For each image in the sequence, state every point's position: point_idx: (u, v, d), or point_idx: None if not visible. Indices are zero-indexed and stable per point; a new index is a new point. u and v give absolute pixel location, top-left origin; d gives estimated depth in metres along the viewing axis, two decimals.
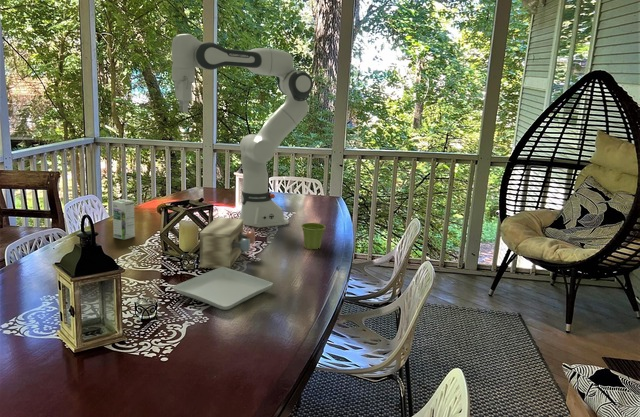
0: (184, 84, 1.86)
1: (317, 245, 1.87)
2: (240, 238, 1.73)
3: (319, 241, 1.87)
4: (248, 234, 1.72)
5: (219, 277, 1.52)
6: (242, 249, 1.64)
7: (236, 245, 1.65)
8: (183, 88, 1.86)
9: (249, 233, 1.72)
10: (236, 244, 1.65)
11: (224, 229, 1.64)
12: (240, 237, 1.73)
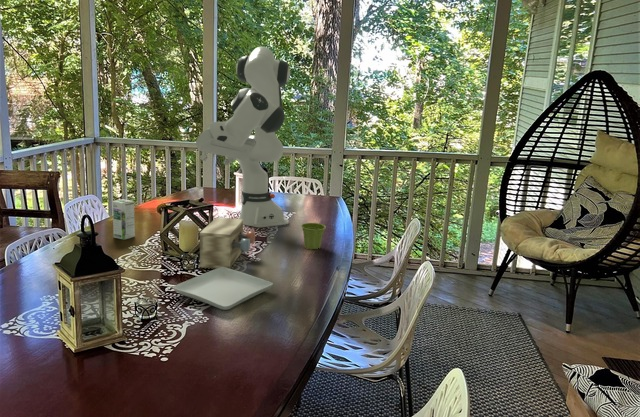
0: None
1: (317, 245, 1.87)
2: (240, 238, 1.73)
3: (319, 241, 1.87)
4: (248, 234, 1.72)
5: (219, 277, 1.52)
6: (242, 249, 1.64)
7: (236, 245, 1.65)
8: None
9: (249, 233, 1.72)
10: (236, 244, 1.65)
11: (224, 229, 1.64)
12: (240, 237, 1.73)
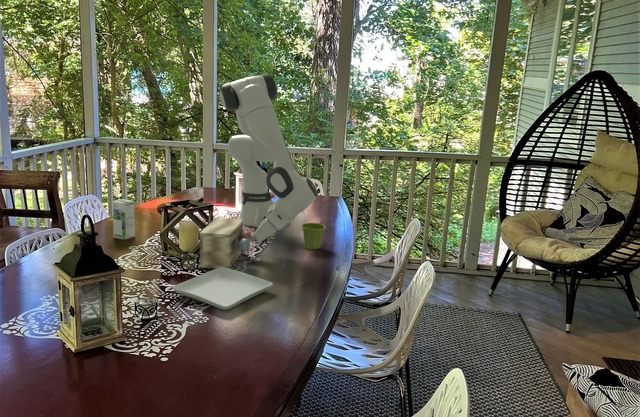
0: None
1: (317, 245, 1.87)
2: None
3: (319, 241, 1.87)
4: (244, 234, 1.72)
5: (219, 277, 1.52)
6: (242, 249, 1.64)
7: (236, 245, 1.65)
8: None
9: (245, 233, 1.73)
10: (236, 244, 1.65)
11: (224, 229, 1.64)
12: None
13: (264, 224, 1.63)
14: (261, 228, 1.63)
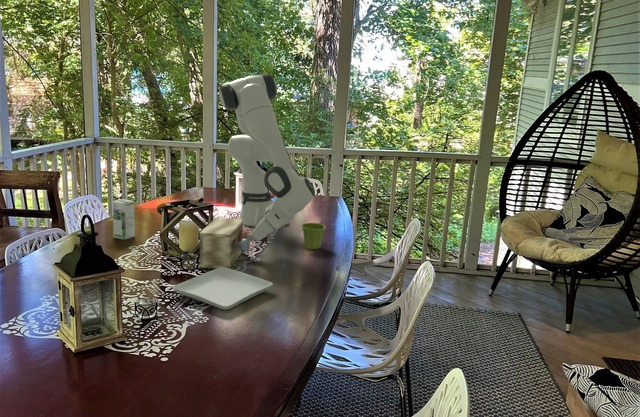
0: None
1: (317, 245, 1.87)
2: None
3: (319, 241, 1.87)
4: (241, 233, 1.72)
5: (219, 277, 1.52)
6: (242, 249, 1.64)
7: (236, 245, 1.65)
8: None
9: (242, 232, 1.73)
10: (236, 244, 1.65)
11: (224, 229, 1.64)
12: None
13: (262, 223, 1.63)
14: (258, 227, 1.63)
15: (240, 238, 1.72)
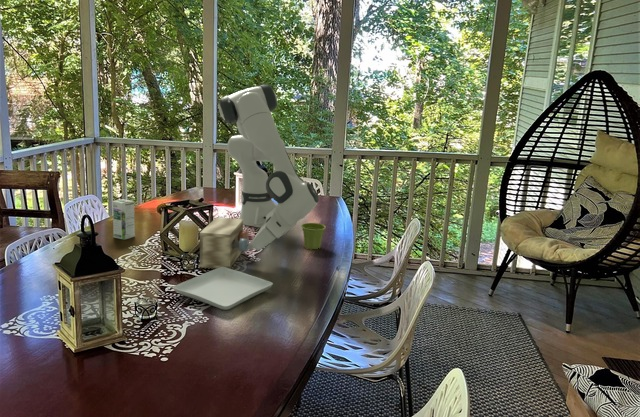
0: None
1: (317, 245, 1.87)
2: None
3: (319, 241, 1.87)
4: (241, 233, 1.72)
5: (219, 277, 1.52)
6: (240, 249, 1.64)
7: (234, 245, 1.65)
8: None
9: (242, 232, 1.73)
10: (234, 244, 1.65)
11: (224, 229, 1.64)
12: None
13: (262, 232, 1.54)
14: (259, 236, 1.54)
15: (240, 238, 1.72)
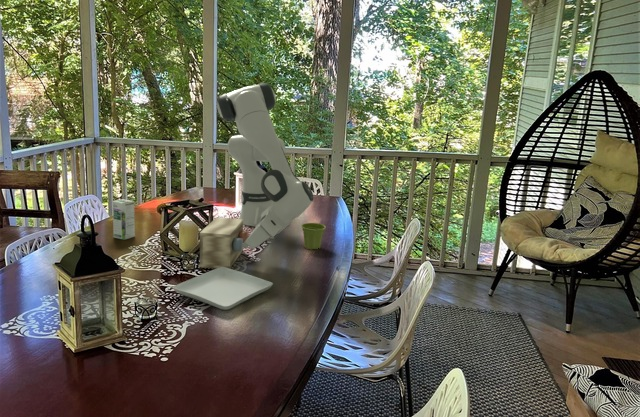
0: None
1: (317, 245, 1.87)
2: None
3: (319, 241, 1.87)
4: (241, 233, 1.72)
5: (219, 277, 1.52)
6: (235, 248, 1.64)
7: None
8: None
9: (242, 232, 1.73)
10: None
11: (224, 229, 1.64)
12: None
13: (257, 230, 1.54)
14: (253, 234, 1.54)
15: None
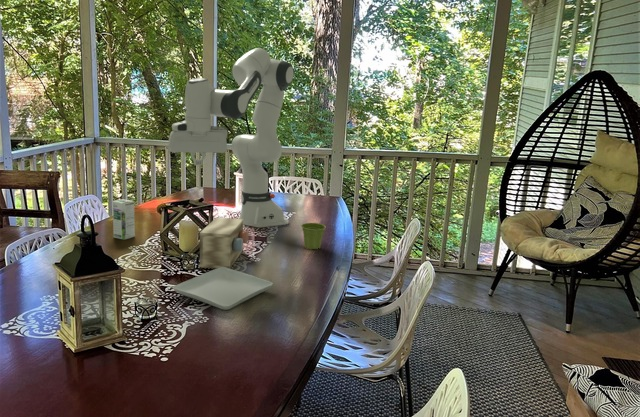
0: (224, 135, 1.75)
1: (317, 245, 1.87)
2: None
3: (319, 241, 1.87)
4: (241, 233, 1.72)
5: (219, 277, 1.52)
6: (235, 248, 1.64)
7: None
8: (225, 139, 1.75)
9: (242, 232, 1.73)
10: None
11: (224, 229, 1.64)
12: None
13: None
14: (169, 139, 1.70)
15: None
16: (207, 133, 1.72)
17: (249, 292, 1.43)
